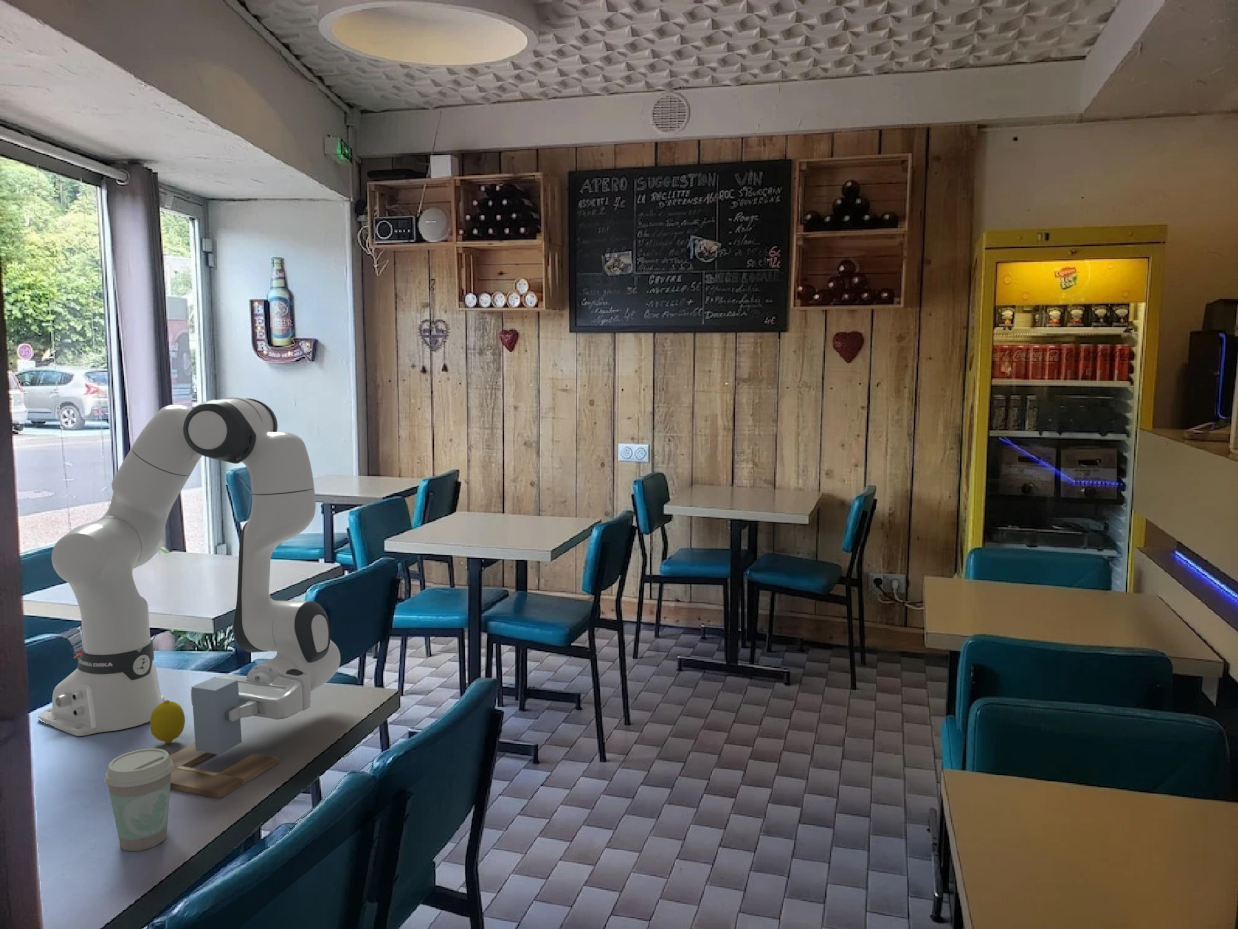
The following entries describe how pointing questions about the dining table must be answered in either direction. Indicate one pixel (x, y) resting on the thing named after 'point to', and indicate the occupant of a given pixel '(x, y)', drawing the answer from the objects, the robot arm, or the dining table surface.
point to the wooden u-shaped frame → (212, 781)
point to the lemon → (167, 721)
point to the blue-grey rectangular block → (215, 715)
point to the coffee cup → (140, 797)
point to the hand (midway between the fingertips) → (212, 714)
